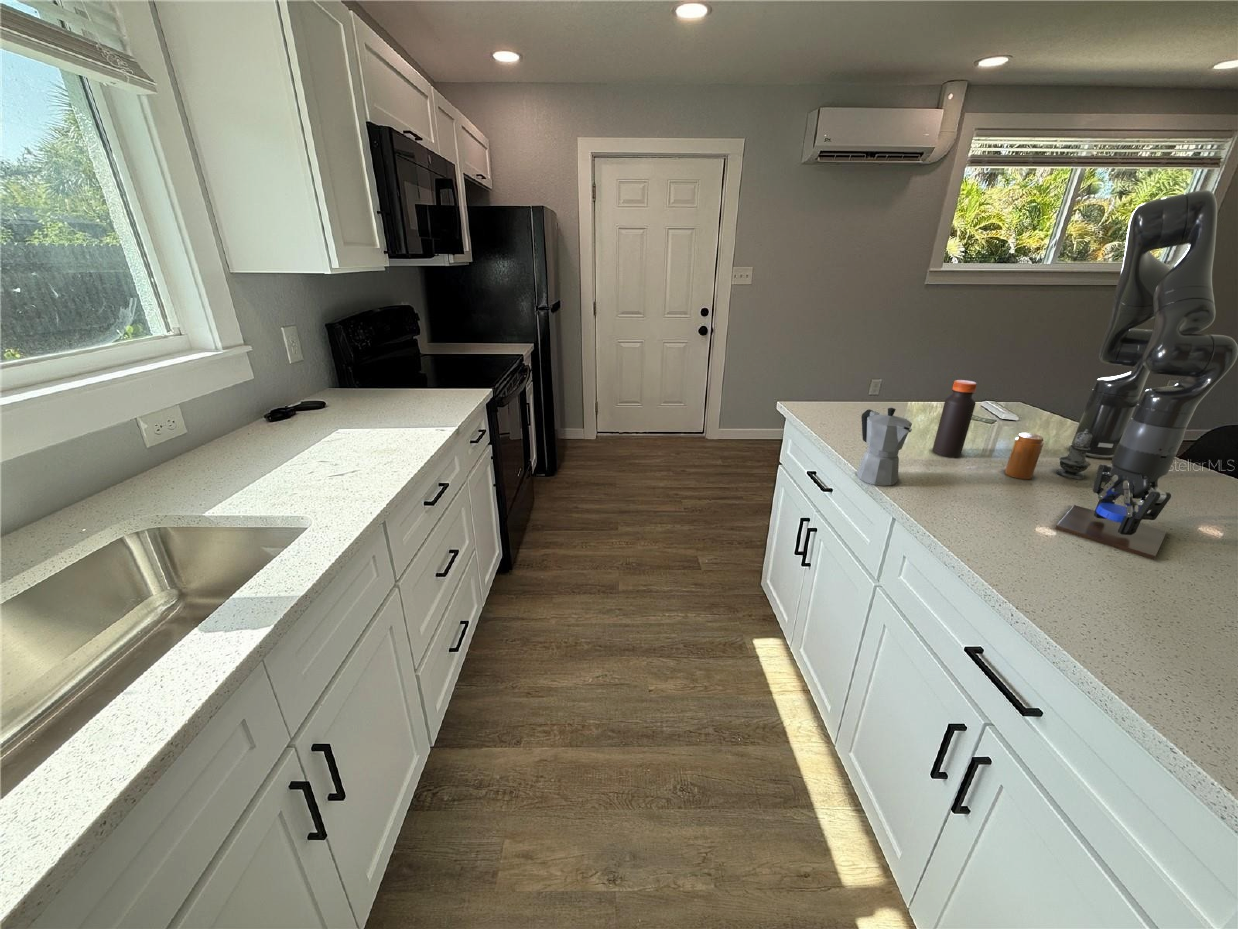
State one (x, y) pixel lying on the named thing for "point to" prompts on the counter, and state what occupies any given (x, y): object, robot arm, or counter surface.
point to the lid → (1112, 511)
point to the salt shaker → (1076, 457)
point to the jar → (1024, 456)
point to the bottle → (955, 420)
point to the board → (1111, 532)
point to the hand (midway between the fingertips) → (1112, 525)
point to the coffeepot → (882, 446)
